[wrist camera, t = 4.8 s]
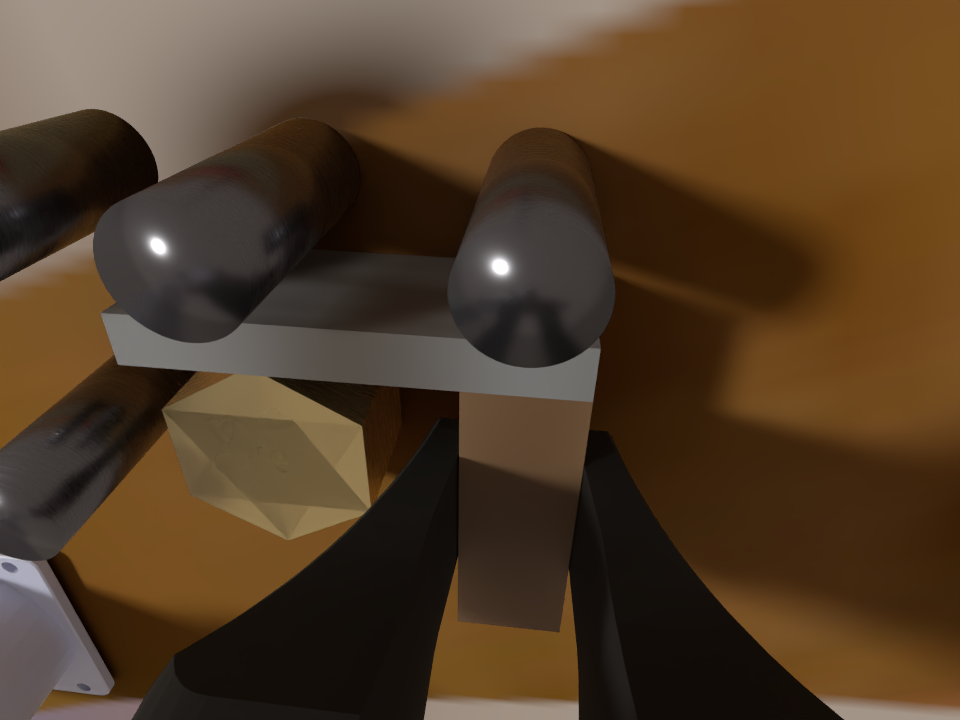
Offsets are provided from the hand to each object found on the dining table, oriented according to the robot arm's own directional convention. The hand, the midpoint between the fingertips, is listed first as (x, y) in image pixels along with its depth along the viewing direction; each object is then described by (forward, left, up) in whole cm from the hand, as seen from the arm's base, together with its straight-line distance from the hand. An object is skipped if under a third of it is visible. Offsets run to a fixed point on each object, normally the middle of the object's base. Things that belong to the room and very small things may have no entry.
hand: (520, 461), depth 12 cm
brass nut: (-5, 0, -2) cm, 5 cm away
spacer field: (-4, +3, -2) cm, 6 cm away
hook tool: (-3, 0, -2) cm, 4 cm away
